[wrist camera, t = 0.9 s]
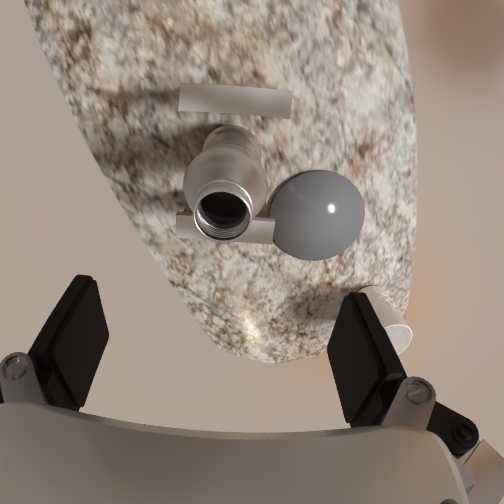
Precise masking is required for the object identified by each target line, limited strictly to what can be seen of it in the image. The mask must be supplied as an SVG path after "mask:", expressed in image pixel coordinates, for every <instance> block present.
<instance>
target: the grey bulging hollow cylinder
mask: <svg viewBox="0 0 504 504" xmlns="http://www.w3.org/2000/svg"><path fill="white" fill-rule="evenodd" d="M260 159H261V149H260V145H259V143H258V141H257V139H256V138H255V137H254V135H253V134H252V133H250V132H249V131H248V130H246V129H244V128H242V127H239V126H234V125H227V126H222V127H219V128H217V129H215V130H214V131H212V132H211V133H210V134H209V135H208V136H207V137H206V139H205V141H204V143H203V147H202V152H201V153H200V154H199V155H197V156H196V157H195V158H194V159H193V160H192V162H191V163H190V164H189V166H188V168H187V169H186V171H185V175H184V178H183V190H184V195H185V198H186V201H187V203H188V205H189V207H190V209H191V210H192V212H193V214H192V215H193V221H194V224H195V226H196V228H197V229H198V231H199V232H200V233H201V234H202V235H203V236H205V237H206V238H208V239H210V240H212V241H215V242H220V243H229V242H233V241H236V240H238V239H240V238H241V237H243V236H244V235H245V234H246V233H247V231H248V230H249V228H250V226H251V223H252V219H253V218H254V217H255V216H256V215H257V214H258V213H259V212H260V210H261V209H262V207H263V206H264V204H265V201H266V199H267V194H268V182H267V178H266V174H265V172H264V170H263V168H262V166H261V165H260Z"/></svg>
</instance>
